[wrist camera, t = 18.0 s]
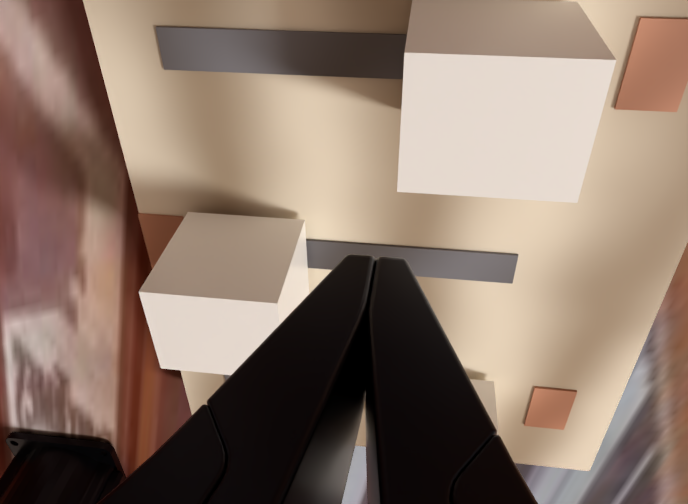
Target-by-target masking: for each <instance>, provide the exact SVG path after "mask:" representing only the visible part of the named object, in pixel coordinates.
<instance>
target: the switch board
mask: <svg viewBox="0 0 688 504" xmlns="http://www.w3.org/2000/svg"><path fill="white" fill-rule="evenodd" d="M530 1H570V2H578V3H579V5H580V6H581V8H582V9H583V11H584V12H585V14H586V15H587V17H588V18H589V20H590V21H591V23H592V24H593V26H594V27H595V29H596V30H597V32H598V33H599V35H600V36H601V38H602V39H603V41H604V42H605V44H606V45H607V47H608V48H609V50H610V51H611V53H612V54H613V56H614V57H615V59H616V63H615V67H614V71H613V74H612V78H611V82H610V85H609V89H608V93H607V96H606V100H605V104H604V107H603V111H602V115H601V118H600V122H599V125H598V129H597V133H596V136H595V140H594V144H593V147H592V151H591V155H590V158H589V162H588V166H587V169H586V173H585V177H584V180H583V184H582V188H581V191H580V195H579V199H578V202H577V203H570V202H553V201H537V200H521V199H504V198H488V197H472V196H456V195H439V194H423V193H407V192H397V182H398V163H399V145H400V126H401V107H402V88H403V69H404V52H405V45H406V39H407V32H408V25H409V19H410V12H411V5H412V0H83V3H84V7H85V10H86V14H87V18H88V22H89V26H90V29H91V33H92V37H93V41H94V45H95V48H96V52H97V56H98V60H99V64H100V67H101V71H102V75H103V79H104V83H105V86H106V90H107V94H108V98H109V102H110V105H111V109H112V113H113V117H114V120H115V124H116V128H117V132H118V136H119V139H120V143H121V147H122V151H123V155H124V158H125V162H126V166H127V170H128V174H129V177H130V181H131V185H132V189H133V193H134V196H135V200H136V204H137V208H138V211H139V214H138V217H139V221H140V225H141V229H142V233H143V236H144V240H145V244H146V248H147V251H148V255H149V259H150V263H151V266H152V269H153V268H154V266H155V264H156V263H157V261H158V259H159V258H160V256H161V255H162V253H163V251H164V250H165V248H166V247H167V245H168V243H169V242H170V240H171V238H172V237H173V235H174V234H175V232H176V230H177V229H178V227H179V225H180V224H181V222H182V221H183V219H184V217H185V216H186V214H187V213H188V212H197V213H212V214H226V215H241V216H256V217H271V218H285V219H300V220H305V231H306V247H307V264H308V281H309V294H310V293H311V292H312V291H313V289H314V288H315V287H316V286H317V285H318V284H319V283H320V282H321V281H322V280H323V279H324V278H325V277H326V276H327V275H328V274H329V273H330V272H331V271H332V270H333V269H334V268H335V267H336V266H337V264H338V263H339V262H340V261H341V260H342V259H343V258H344V257H345V256H347V255H349V254H357V255H371V256H374V257H375V259H376V260H377V259H378V258H379V257H381V256H384V257H398V258H404V259H406V260H407V262H408V263H409V265H410V267H411V269H412V271H413V273H414V275H415V277H416V279H417V280H418V282H419V284H420V286H421V288H422V290H423V292H424V294H425V296H426V297H427V299H428V301H429V303H430V305H431V307H432V309H433V311H434V313H435V314H436V316H437V318H438V320H439V322H440V324H441V326H442V328H443V330H444V331H445V333H446V335H447V337H448V339H449V341H450V343H451V345H452V347H453V348H454V350H455V352H456V354H457V356H458V358H459V360H460V362H461V364H462V365H463V367H464V369H465V371H466V373H467V375H468V377H469V379H474V380H485V381H494V387H495V399H496V410H497V421H498V433H499V436H500V437H501V439H502V440H503V442H504V444H505V446H506V448H507V450H508V452H509V454H510V456H511V457H512V459H513V461H514V463H521V464H530V465H539V466H548V467H557V468H566V469H575V470H585V471H590V469H591V466H592V464H593V462H594V459H595V457H596V455H597V452H598V450H599V448H600V445H601V443H602V441H603V438H604V436H605V434H606V431H607V429H608V427H609V424H610V422H611V420H612V417H613V415H614V413H615V410H616V408H617V406H618V403H619V401H620V399H621V396H622V394H623V392H624V389H625V387H626V385H627V382H628V380H629V378H630V375H631V373H632V371H633V368H634V366H635V364H636V361H637V359H638V357H639V354H640V352H641V350H642V347H643V345H644V343H645V340H646V338H647V336H648V333H649V331H650V329H651V326H652V324H653V322H654V319H655V317H656V315H657V312H658V310H659V308H660V305H661V303H662V301H663V298H664V296H665V294H666V291H667V289H668V287H669V284H670V282H671V280H672V277H673V275H674V273H675V270H676V268H677V266H678V263H679V261H680V259H681V256H682V254H683V252H684V249H685V247H686V245H687V242H688V0H530ZM180 371H181V375H182V378H183V382H184V386H185V390H186V393H187V397H188V401H189V405H190V409H191V412H192V415H193V414H194V413H195V412H196V411H197V410H198V409H199V408H200V407H201V406H202V405H203V404H206V405H207V400H208V399H209V398H210V397H211V396H212V395H213V394H214V393H215V391H216V390H217V389H218V388H219V387H220V386H221V385H222V384H223V383H224V382H225V381H226V380H227V379H228V378H229V377H230V376H231V375H223V374H213V373H202V372H192V371H182V370H180ZM365 404H366V395H365V403H364V409H363V413H362V418H361V423H360V427H359V431H358V435H357V440H356V444H355V445H356V446H365V447H366V427H365Z"/></svg>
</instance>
